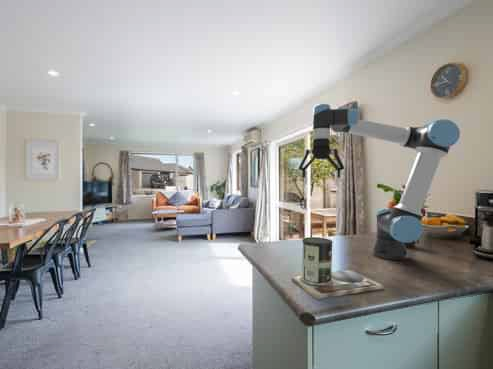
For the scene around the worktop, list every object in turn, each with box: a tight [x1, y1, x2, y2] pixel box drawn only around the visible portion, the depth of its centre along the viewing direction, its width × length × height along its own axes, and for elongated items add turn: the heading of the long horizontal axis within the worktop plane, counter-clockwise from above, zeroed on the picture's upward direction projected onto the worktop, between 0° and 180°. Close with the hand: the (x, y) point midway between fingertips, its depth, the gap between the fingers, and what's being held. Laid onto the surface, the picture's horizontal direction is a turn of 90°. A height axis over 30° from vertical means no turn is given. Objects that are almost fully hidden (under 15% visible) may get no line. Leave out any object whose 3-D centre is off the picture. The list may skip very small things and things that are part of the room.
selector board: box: [291, 269, 384, 300], centre depth 92 cm, size 26×16×2 cm, turn 109°
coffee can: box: [301, 236, 333, 285], centre depth 92 cm, size 10×10×14 cm
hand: (320, 185), depth 120 cm, fingers open, 13 cm apart
